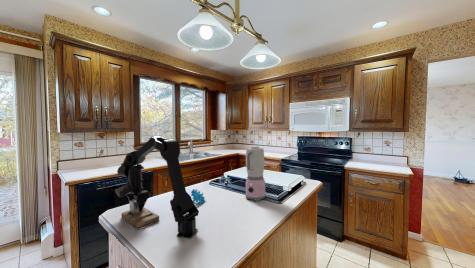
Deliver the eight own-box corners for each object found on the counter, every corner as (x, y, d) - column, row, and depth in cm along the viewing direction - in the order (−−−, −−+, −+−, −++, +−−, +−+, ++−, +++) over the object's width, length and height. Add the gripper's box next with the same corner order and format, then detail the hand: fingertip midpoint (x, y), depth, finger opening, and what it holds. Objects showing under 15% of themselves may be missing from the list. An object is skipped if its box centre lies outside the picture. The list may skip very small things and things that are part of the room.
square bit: (143, 215, 96) (142, 199, 95) (133, 219, 92) (133, 202, 92) (139, 213, 98) (138, 197, 98) (130, 216, 95) (129, 200, 95)
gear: (199, 204, 106) (189, 189, 109) (192, 210, 107) (182, 196, 110) (209, 199, 117) (199, 186, 120) (202, 206, 118) (193, 193, 121)
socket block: (159, 220, 91) (159, 215, 91) (137, 229, 83) (137, 224, 83) (142, 211, 102) (142, 206, 102) (121, 217, 95) (121, 212, 95)
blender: (251, 193, 127) (250, 145, 126) (268, 196, 121) (268, 146, 120) (239, 201, 114) (238, 147, 113) (257, 205, 107) (257, 148, 107)
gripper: (110, 178, 95) (111, 209, 95) (124, 185, 83) (126, 220, 83) (133, 174, 103) (134, 202, 103) (150, 179, 91) (151, 211, 92)
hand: (136, 209), depth 95 cm, fingers open, 9 cm apart
